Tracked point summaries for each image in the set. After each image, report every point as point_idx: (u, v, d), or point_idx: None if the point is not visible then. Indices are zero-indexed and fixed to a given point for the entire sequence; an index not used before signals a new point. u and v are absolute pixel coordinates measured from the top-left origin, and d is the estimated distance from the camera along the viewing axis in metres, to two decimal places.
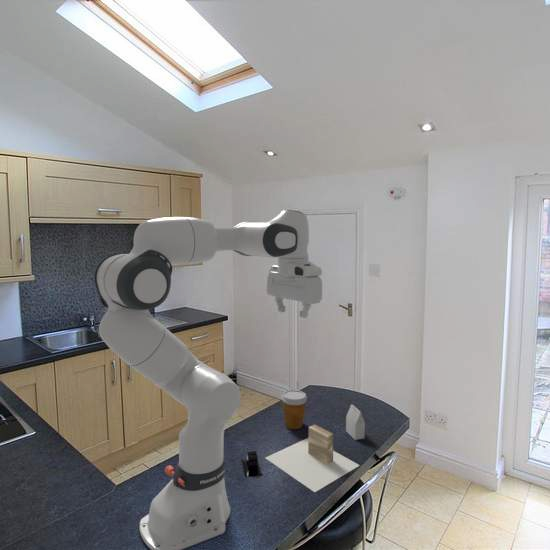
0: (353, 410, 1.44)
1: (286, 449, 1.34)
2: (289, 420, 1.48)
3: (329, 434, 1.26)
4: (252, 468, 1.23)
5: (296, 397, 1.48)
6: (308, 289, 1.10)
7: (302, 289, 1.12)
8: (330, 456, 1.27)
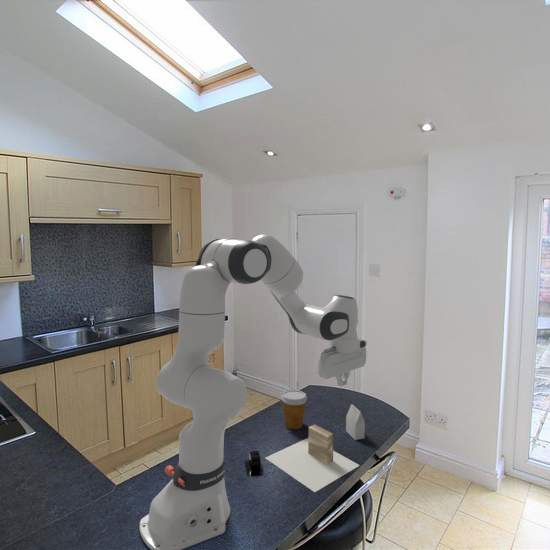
0: (353, 410, 1.44)
1: (286, 449, 1.34)
2: (289, 420, 1.48)
3: (329, 434, 1.26)
4: (255, 468, 1.23)
5: (296, 397, 1.48)
6: (363, 355, 1.37)
7: (358, 358, 1.35)
8: (330, 456, 1.27)
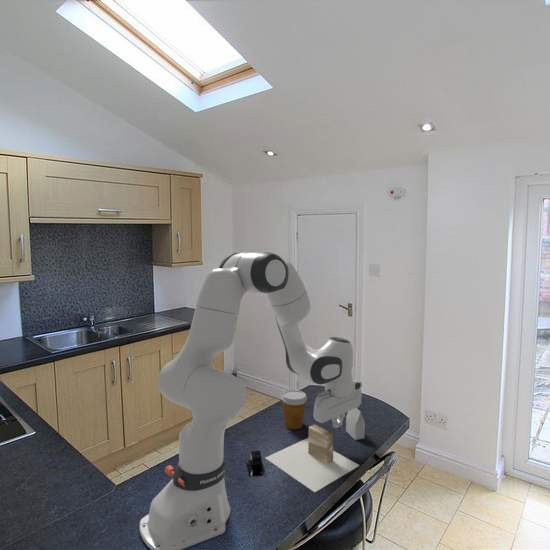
0: (353, 410, 1.44)
1: (286, 449, 1.34)
2: (289, 420, 1.48)
3: (329, 434, 1.26)
4: (256, 467, 1.23)
5: (296, 397, 1.48)
6: (359, 396, 1.37)
7: (353, 399, 1.36)
8: (330, 456, 1.27)
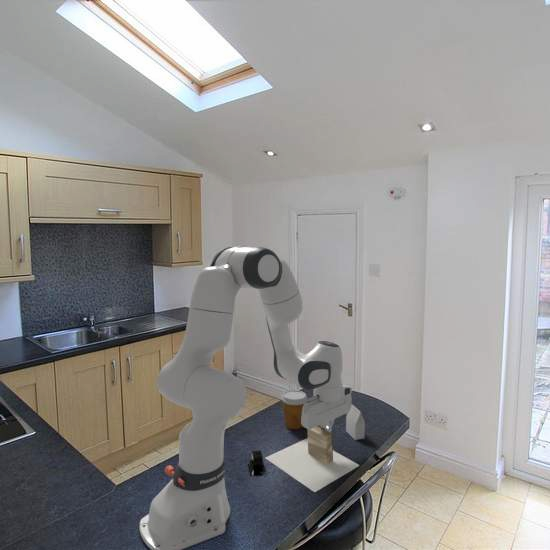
0: (353, 410, 1.44)
1: (286, 449, 1.34)
2: (289, 420, 1.48)
3: (328, 434, 1.26)
4: (257, 467, 1.23)
5: (296, 397, 1.48)
6: (349, 402, 1.34)
7: (343, 405, 1.32)
8: (330, 456, 1.27)
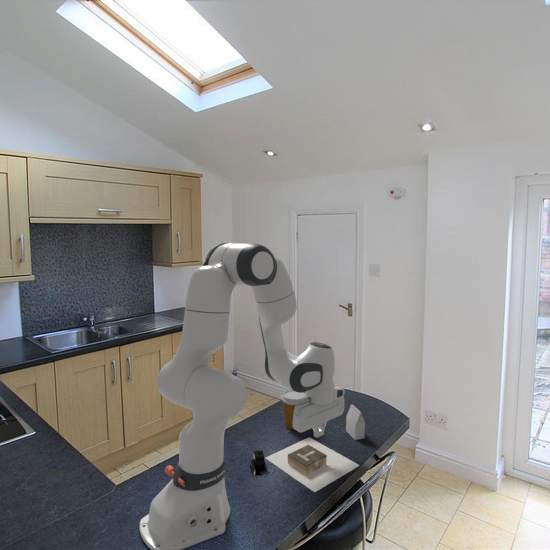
0: (353, 410, 1.44)
1: (286, 449, 1.34)
2: (289, 420, 1.48)
3: (304, 469, 1.20)
4: (259, 467, 1.23)
5: (296, 397, 1.48)
6: (341, 404, 1.31)
7: (335, 407, 1.30)
8: (322, 461, 1.25)
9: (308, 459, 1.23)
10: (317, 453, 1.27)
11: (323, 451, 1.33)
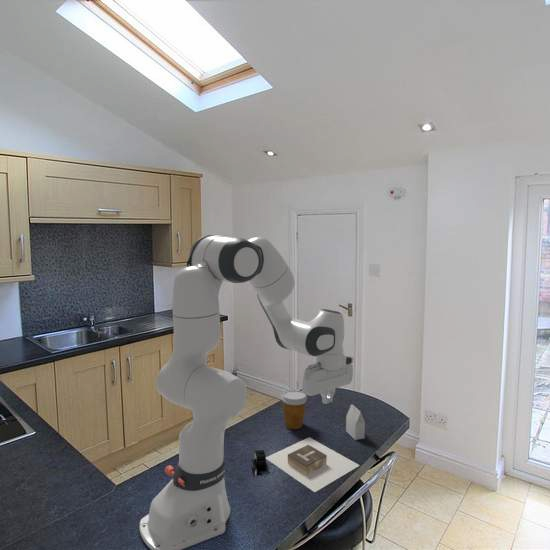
0: (353, 410, 1.44)
1: (286, 449, 1.34)
2: (289, 420, 1.48)
3: (304, 469, 1.20)
4: (260, 467, 1.23)
5: (296, 397, 1.48)
6: (350, 372, 1.33)
7: (344, 375, 1.31)
8: (322, 461, 1.25)
9: (308, 459, 1.23)
10: (317, 453, 1.27)
11: (323, 451, 1.33)
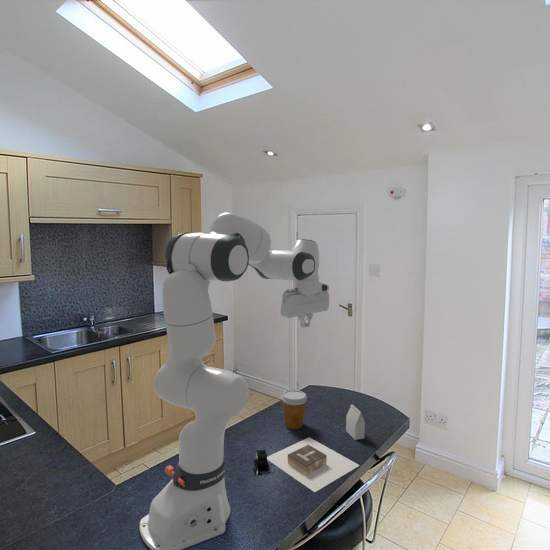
0: (353, 410, 1.44)
1: (286, 449, 1.34)
2: (289, 420, 1.48)
3: (304, 469, 1.20)
4: (261, 466, 1.23)
5: (296, 397, 1.48)
6: (326, 300, 1.43)
7: (321, 301, 1.41)
8: (322, 461, 1.25)
9: (308, 459, 1.23)
10: (317, 453, 1.27)
11: (323, 451, 1.33)
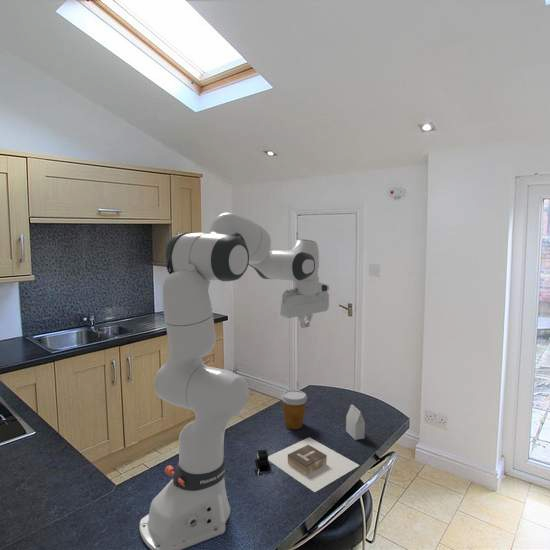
0: (353, 410, 1.44)
1: (286, 449, 1.34)
2: (289, 420, 1.48)
3: (304, 469, 1.20)
4: (263, 466, 1.23)
5: (296, 397, 1.48)
6: (326, 300, 1.43)
7: (320, 302, 1.41)
8: (322, 461, 1.25)
9: (308, 459, 1.23)
10: (317, 453, 1.27)
11: (323, 451, 1.33)
